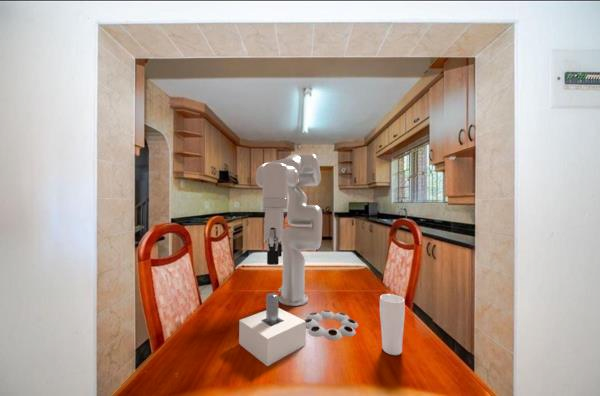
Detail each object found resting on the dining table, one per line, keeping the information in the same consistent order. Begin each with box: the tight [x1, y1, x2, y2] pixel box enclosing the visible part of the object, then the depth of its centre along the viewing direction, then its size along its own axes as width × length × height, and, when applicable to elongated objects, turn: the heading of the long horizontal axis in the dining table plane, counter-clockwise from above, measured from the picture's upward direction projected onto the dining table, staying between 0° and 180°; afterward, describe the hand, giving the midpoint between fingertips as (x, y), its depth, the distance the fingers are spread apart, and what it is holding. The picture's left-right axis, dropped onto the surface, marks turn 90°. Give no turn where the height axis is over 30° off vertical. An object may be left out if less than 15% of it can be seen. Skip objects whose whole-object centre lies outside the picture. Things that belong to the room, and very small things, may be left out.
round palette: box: [303, 309, 359, 341], centre depth 86 cm, size 20×20×2 cm
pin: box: [265, 292, 279, 326], centre depth 74 cm, size 4×4×12 cm
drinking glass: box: [379, 293, 406, 356], centre depth 71 cm, size 7×7×15 cm
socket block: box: [238, 307, 307, 367], centre depth 74 cm, size 14×14×7 cm
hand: (274, 260), depth 76 cm, fingers open, 9 cm apart
